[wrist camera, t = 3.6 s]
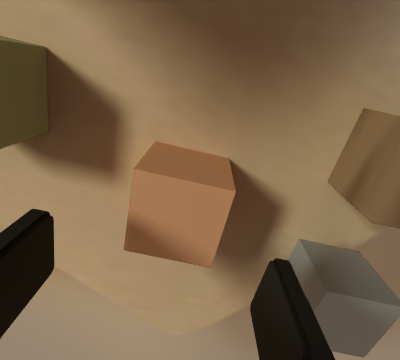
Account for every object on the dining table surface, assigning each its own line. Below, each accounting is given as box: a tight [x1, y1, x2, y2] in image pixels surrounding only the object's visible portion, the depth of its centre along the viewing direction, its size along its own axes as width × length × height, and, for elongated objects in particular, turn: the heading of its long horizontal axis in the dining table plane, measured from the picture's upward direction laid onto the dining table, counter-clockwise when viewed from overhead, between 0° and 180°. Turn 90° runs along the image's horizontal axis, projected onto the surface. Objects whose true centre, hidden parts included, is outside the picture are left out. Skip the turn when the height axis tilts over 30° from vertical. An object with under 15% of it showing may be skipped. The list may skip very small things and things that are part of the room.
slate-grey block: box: [288, 239, 400, 357], centre depth 17 cm, size 5×5×5 cm
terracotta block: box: [124, 141, 236, 268], centre depth 15 cm, size 5×5×5 cm
